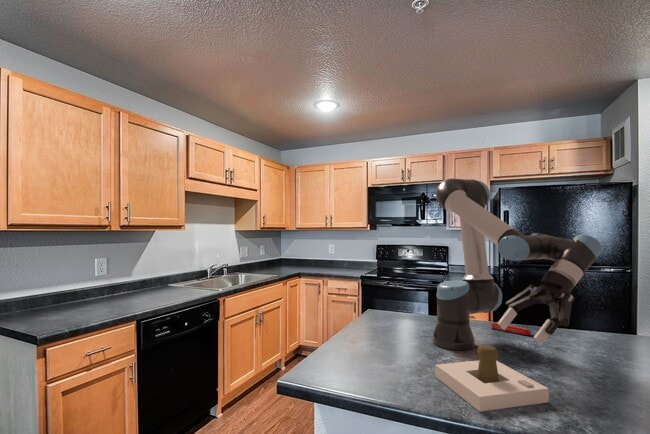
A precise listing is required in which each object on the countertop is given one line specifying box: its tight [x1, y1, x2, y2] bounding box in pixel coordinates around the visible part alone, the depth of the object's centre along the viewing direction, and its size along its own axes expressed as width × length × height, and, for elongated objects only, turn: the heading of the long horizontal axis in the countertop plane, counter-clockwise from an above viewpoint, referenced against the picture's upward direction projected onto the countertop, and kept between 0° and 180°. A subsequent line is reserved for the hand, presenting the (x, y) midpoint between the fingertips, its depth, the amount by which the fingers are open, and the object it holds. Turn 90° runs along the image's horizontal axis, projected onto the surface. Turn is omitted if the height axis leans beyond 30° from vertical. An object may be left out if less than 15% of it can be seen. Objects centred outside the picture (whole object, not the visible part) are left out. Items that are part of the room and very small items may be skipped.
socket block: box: [434, 360, 550, 413], centre depth 95 cm, size 20×20×4 cm
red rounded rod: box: [490, 322, 533, 336], centre depth 147 cm, size 16×4×3 cm, turn 44°
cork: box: [477, 344, 499, 383], centre depth 95 cm, size 6×6×11 cm
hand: (518, 333), depth 98 cm, fingers open, 13 cm apart
